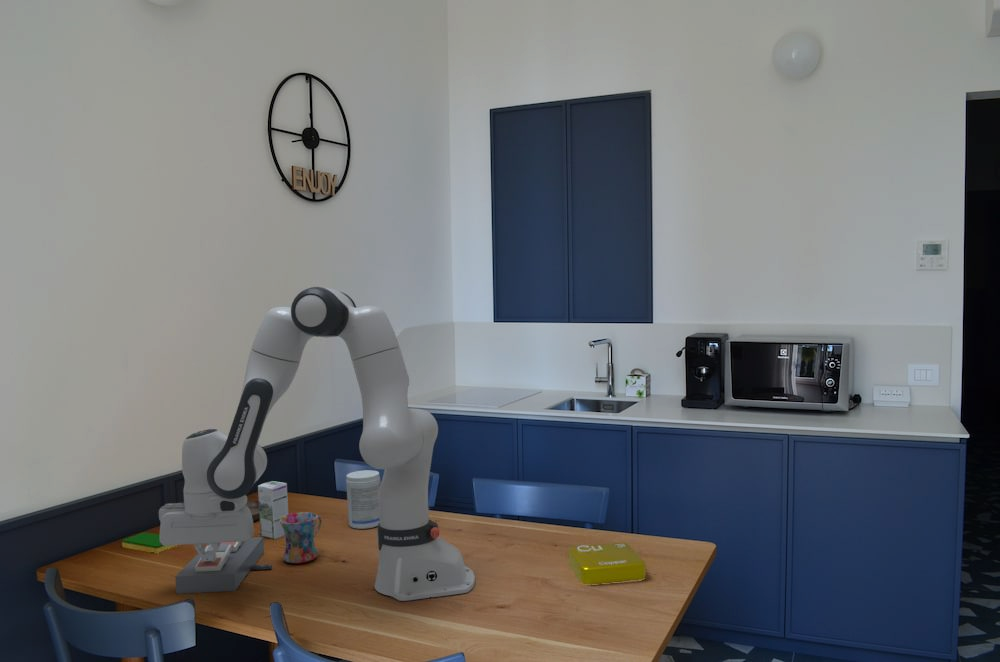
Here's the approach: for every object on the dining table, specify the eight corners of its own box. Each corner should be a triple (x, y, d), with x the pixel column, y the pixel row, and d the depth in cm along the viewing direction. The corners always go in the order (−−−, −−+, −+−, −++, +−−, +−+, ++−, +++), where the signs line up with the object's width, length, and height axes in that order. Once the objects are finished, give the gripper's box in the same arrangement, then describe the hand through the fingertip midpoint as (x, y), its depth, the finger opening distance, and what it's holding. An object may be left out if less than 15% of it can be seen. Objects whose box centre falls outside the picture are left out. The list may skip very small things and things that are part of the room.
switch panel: (284, 551, 195) (283, 536, 195) (258, 589, 170) (257, 572, 170) (212, 554, 194) (212, 539, 194) (176, 593, 169) (175, 576, 169)
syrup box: (290, 533, 209) (288, 482, 208) (273, 540, 204) (271, 487, 204) (276, 530, 212) (273, 479, 212) (259, 537, 207) (256, 484, 207)
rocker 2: (246, 536, 193) (245, 528, 192) (236, 554, 184) (235, 545, 183) (224, 537, 192) (223, 529, 192) (213, 556, 184) (212, 547, 183)
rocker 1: (232, 552, 181) (231, 543, 180) (221, 574, 172) (219, 564, 171) (208, 553, 180) (207, 544, 180) (196, 575, 172) (194, 565, 171)
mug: (300, 568, 182) (297, 525, 182) (273, 562, 187) (271, 520, 187) (335, 553, 193) (333, 512, 192) (309, 547, 198) (307, 507, 197)
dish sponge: (157, 555, 197) (156, 546, 196) (121, 548, 203) (121, 539, 203) (179, 546, 203) (179, 537, 203) (144, 540, 209) (144, 531, 209)
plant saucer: (222, 531, 214) (222, 521, 214) (199, 518, 227) (198, 508, 227) (281, 517, 226) (280, 507, 226) (255, 506, 239) (254, 496, 239)
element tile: (583, 588, 166) (582, 567, 166) (567, 564, 181) (566, 544, 181) (648, 582, 168) (648, 561, 168) (627, 559, 183) (627, 539, 183)
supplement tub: (389, 524, 215) (387, 473, 214) (361, 532, 209) (358, 479, 208) (369, 517, 222) (367, 468, 221) (341, 525, 216) (339, 474, 215)
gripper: (152, 507, 167) (156, 569, 168) (246, 503, 169) (249, 563, 169) (163, 500, 174) (167, 559, 174) (254, 495, 175) (257, 554, 176)
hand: (208, 561), depth 172 cm, fingers closed
